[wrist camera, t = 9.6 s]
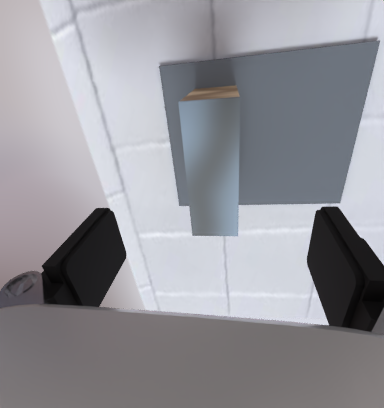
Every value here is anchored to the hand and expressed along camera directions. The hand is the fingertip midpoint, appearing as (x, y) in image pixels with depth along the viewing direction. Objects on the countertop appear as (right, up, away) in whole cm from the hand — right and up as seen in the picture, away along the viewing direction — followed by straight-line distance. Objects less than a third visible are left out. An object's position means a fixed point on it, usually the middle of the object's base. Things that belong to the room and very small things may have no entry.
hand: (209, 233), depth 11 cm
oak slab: (+2, +7, +12) cm, 14 cm away
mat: (+6, +8, +12) cm, 15 cm away
